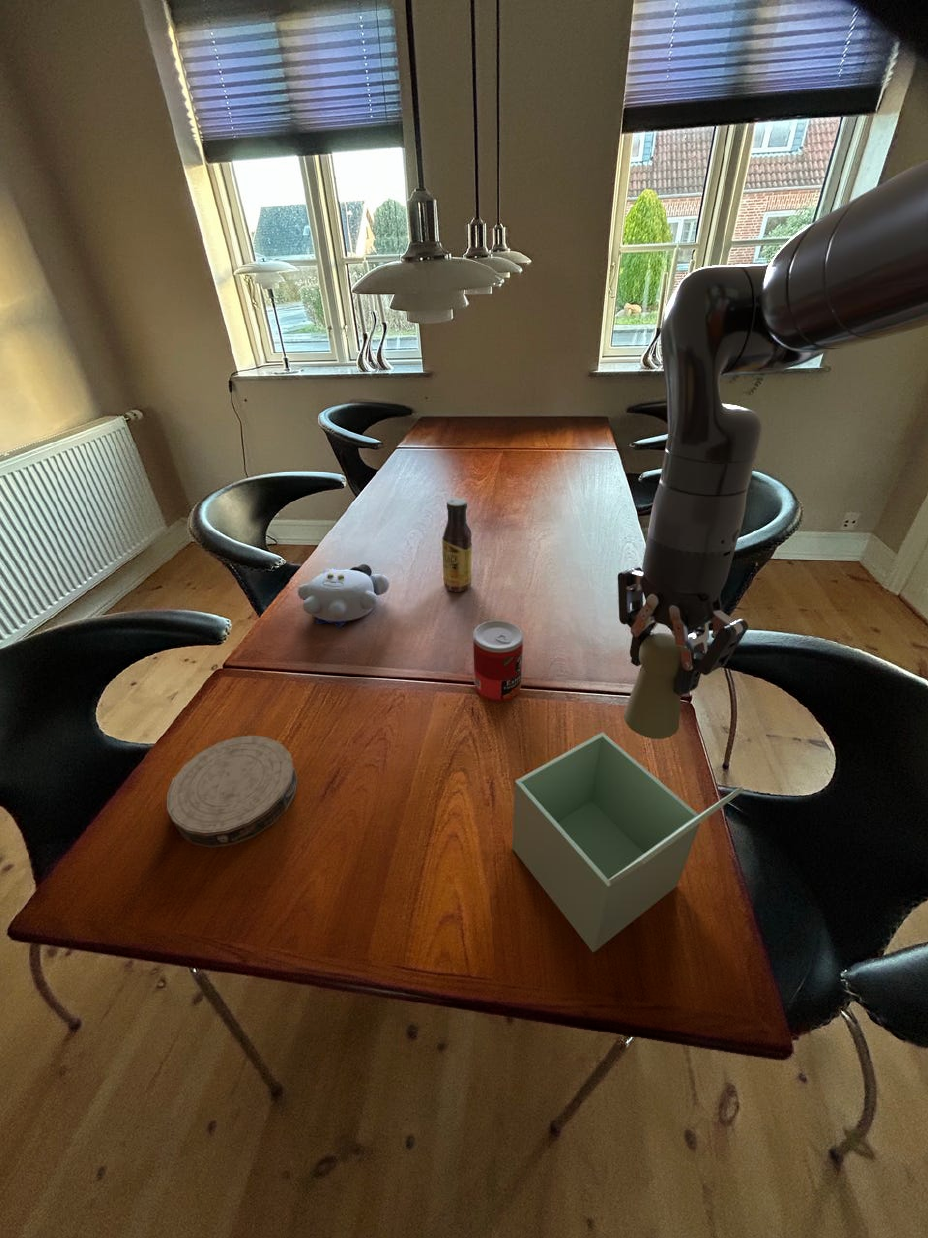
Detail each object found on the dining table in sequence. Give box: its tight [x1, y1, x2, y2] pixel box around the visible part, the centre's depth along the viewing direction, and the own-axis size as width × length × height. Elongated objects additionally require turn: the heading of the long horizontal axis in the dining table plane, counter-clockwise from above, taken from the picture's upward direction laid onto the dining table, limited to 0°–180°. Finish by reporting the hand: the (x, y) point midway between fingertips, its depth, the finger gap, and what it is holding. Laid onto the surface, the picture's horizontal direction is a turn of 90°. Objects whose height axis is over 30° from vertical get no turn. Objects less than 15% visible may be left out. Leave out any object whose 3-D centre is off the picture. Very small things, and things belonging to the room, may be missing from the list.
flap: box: [609, 786, 745, 885], centre depth 47 cm, size 7×13×1 cm
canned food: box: [472, 620, 524, 703], centre depth 86 cm, size 8×8×11 cm
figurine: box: [297, 563, 390, 628], centre depth 109 cm, size 17×8×20 cm
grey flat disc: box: [166, 735, 298, 848], centre depth 71 cm, size 16×16×3 cm
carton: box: [511, 732, 701, 953], centre depth 59 cm, size 14×13×12 cm
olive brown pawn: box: [623, 632, 682, 740], centre depth 57 cm, size 6×6×11 cm
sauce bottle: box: [441, 497, 473, 593], centre depth 111 cm, size 6×6×20 cm
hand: (660, 676), depth 57 cm, fingers closed on olive brown pawn, 5 cm apart
